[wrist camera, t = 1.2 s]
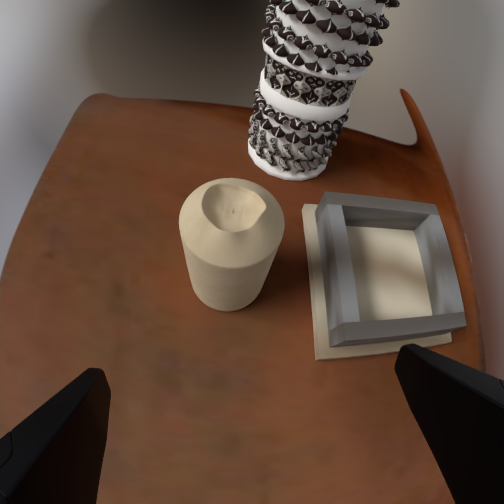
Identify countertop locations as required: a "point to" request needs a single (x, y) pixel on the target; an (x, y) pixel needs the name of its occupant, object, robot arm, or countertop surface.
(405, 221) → the square tray
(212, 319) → the countertop surface
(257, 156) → the decorative candle
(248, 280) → the candle
